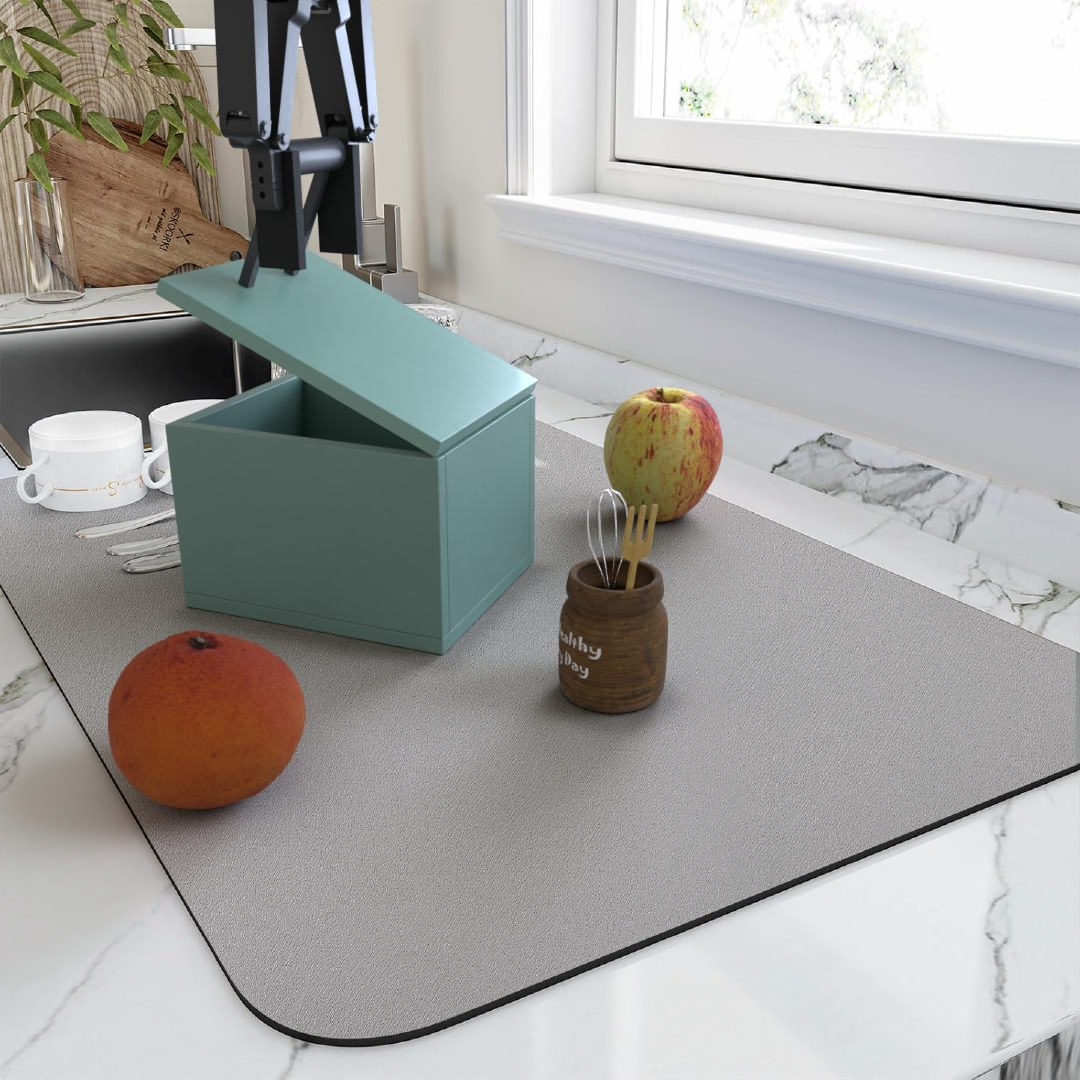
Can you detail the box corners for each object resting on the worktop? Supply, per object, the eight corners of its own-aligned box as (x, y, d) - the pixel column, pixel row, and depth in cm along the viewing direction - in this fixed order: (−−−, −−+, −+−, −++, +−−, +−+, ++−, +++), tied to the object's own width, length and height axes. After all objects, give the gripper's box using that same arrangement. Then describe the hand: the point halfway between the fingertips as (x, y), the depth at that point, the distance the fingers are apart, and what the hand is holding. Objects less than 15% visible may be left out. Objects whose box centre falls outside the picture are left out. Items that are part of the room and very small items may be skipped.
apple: (735, 530, 87) (745, 400, 83) (620, 539, 85) (625, 407, 81) (693, 490, 95) (700, 370, 91) (587, 498, 93) (590, 376, 89)
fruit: (327, 817, 53) (315, 661, 50) (122, 858, 50) (97, 695, 47) (294, 722, 60) (283, 582, 57) (115, 753, 58) (93, 607, 55)
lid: (154, 294, 66) (198, 125, 61) (295, 258, 79) (340, 117, 74) (434, 457, 63) (502, 294, 58) (532, 392, 76) (594, 255, 71)
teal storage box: (185, 606, 73) (164, 424, 69) (309, 526, 86) (298, 369, 82) (442, 655, 68) (438, 459, 63) (534, 562, 81) (535, 394, 76)
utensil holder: (639, 657, 68) (648, 462, 63) (685, 710, 62) (698, 499, 57) (543, 672, 66) (545, 471, 61) (581, 727, 60) (587, 511, 56)
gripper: (244, -230, 52) (280, 289, 61) (429, -156, 68) (437, 244, 77) (107, -219, 54) (161, 279, 63) (318, -150, 71) (338, 237, 79)
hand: (313, 259), depth 70 cm, fingers closed on lid, 6 cm apart
